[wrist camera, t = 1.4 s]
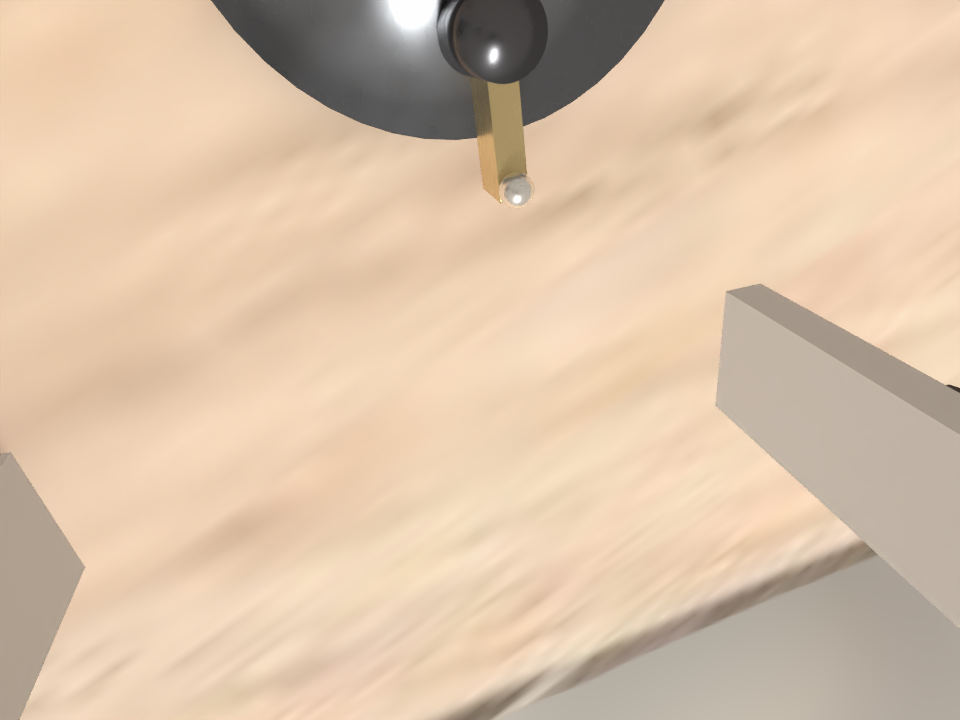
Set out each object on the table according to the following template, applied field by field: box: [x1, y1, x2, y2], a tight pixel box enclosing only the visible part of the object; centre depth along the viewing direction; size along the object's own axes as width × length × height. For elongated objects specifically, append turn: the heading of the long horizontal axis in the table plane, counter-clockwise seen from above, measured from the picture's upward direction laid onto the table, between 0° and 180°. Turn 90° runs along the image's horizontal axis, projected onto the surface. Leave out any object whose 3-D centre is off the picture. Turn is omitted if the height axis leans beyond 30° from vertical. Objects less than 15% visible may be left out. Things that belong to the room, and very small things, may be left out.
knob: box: [437, 0, 548, 209], centre depth 23 cm, size 8×3×4 cm, turn 7°
